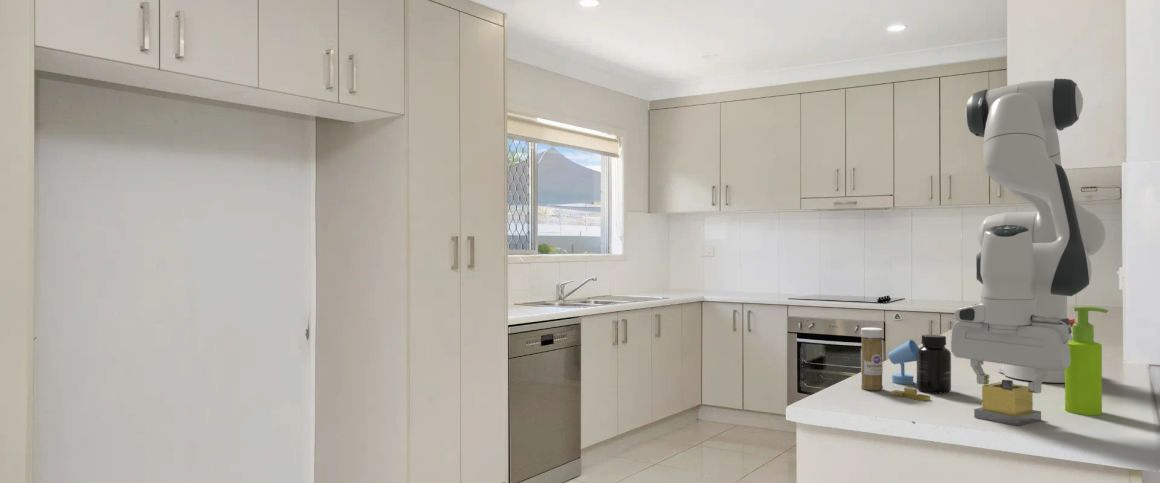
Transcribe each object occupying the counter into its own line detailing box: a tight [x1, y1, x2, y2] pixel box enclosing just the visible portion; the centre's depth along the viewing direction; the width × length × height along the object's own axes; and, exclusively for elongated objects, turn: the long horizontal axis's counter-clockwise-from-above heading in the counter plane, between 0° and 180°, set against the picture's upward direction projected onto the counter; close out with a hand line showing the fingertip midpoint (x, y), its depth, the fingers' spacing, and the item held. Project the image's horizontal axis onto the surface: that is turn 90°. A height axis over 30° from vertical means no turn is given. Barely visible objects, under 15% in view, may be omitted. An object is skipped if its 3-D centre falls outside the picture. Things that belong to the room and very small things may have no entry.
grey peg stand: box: [973, 379, 1042, 427], centre depth 142 cm, size 8×8×7 cm
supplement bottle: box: [916, 334, 952, 394], centre depth 167 cm, size 7×7×12 cm
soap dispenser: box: [1064, 306, 1109, 416], centre depth 146 cm, size 6×7×20 cm
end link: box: [981, 381, 1034, 416], centre depth 142 cm, size 6×6×4 cm
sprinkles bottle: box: [860, 326, 884, 392], centre depth 169 cm, size 5×5×14 cm
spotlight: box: [888, 339, 920, 385], centre depth 176 cm, size 5×10×7 cm
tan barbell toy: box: [890, 387, 931, 402], centre depth 160 cm, size 2×8×2 cm, turn 33°
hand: (1008, 388), depth 142 cm, fingers open, 8 cm apart
